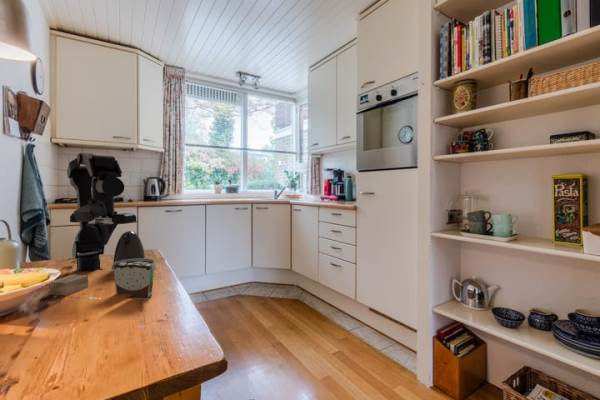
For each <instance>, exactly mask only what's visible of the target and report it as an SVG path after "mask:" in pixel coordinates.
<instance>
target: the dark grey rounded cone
mask: <svg viewBox="0 0 600 400" xmlns="http://www.w3.org/2000/svg"><path fill="white" fill-rule="evenodd" d="M137 258H146V253H145V248H144V245H143V242H142V240H141V239H140V236H139V235H138V234H137V233H136V232H135V231H131V230H128V231H124V232H123V233H122V234H121V235H120V236H119V238H118V240H117V243H116V246H115V248H114V254H113V260H112V263H113V262H117V261H121V260H127V259H137Z"/></svg>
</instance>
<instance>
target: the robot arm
mask: <svg viewBox="0 0 600 400" xmlns="http://www.w3.org/2000/svg"><path fill="white" fill-rule="evenodd" d="M120 166H121V165H120V164H119V162H118V160H117V159H116V157H115V156H114V155H113V156H112V155H100V154H94V153H89V152H88V153H87V152H86V153H85V152H80V153H77V155H76V157H75V158H74V159H72V160H71V161H69V163H68V166H67V169H66V177H67V178H68V179H69V184H70V185H71V187H72V188H73V189H74V190H75V192H76V200H77V201H76V202H77V209H75V210H73V212H72V213H71V214H70V215H69V223H78V224H79V230H78V232H77V234H76V235H75V237H74V242H73V244H72V248H71V256H72V257H73V259H76V270H77V271H79V272H81V273H82V272H95V271H97V270H98V271H103V270H104V268H101V259H100V255H101V256H102V255H104V254H105V246H106V245H107V244H108V243H109V240H110V239H111V236H112V235H113V233H114V232H115V230H116V228H117V227H118V225H125V224H131V223H137V215H136V214H135V213H134V212H122V213H118V211H117V210H115V203H117V202H118V198H115V197H119V196H120V195H122V194H123V192H124V190H125V184H124V181H122V180H121V179H120V178H122V174H123V171H122V169H121V167H120Z"/></svg>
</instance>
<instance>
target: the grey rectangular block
mask: <svg viewBox="0 0 600 400" xmlns="http://www.w3.org/2000/svg"><path fill="white" fill-rule="evenodd" d="M50 282H51V283H50ZM50 282H49V291H50V293H49V294H50V295H52V296H55V295H58V296H68V295H71V294H74V293H77V292H78V291H81V290H84V289H86V288H88V287H89V275H87V274H71V275H68V276H65V277H60V278H58V279H56V280H52V281H50Z"/></svg>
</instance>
